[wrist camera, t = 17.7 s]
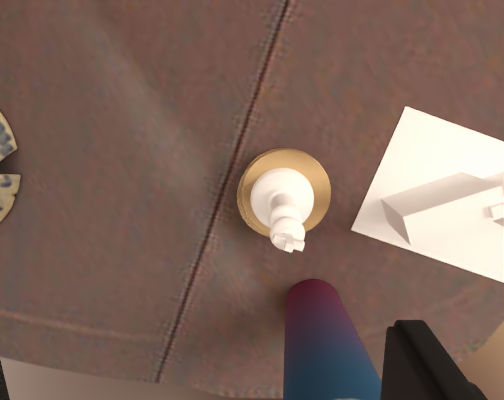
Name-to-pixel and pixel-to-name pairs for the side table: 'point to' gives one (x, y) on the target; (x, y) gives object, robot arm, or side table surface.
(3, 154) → the decorative bowl
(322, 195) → the chip pile
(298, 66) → the side table surface
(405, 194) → the napkin holder
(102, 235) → the side table surface
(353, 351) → the cup
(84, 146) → the side table surface
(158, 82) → the side table surface
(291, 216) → the chess piece
